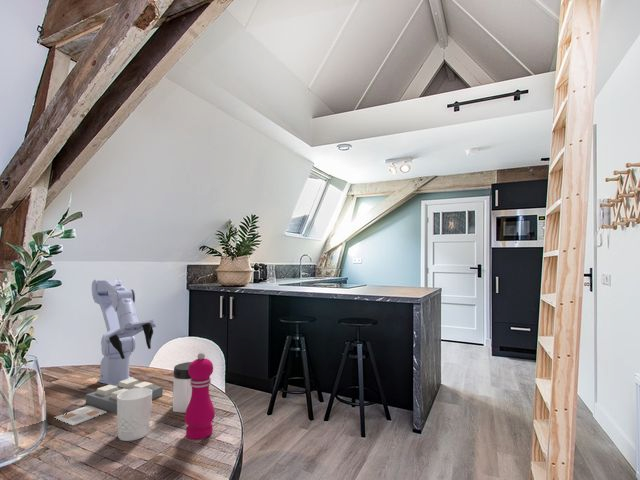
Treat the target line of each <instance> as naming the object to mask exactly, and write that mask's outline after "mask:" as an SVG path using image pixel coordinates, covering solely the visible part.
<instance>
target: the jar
mask: <svg viewBox="0 0 640 480" xmlns="http://www.w3.org/2000/svg"><path fill="white" fill-rule="evenodd" d="M192 362H193V361H189V362H188V361H186V362H182V363H177V364H176V365H175V366H174V367H173V386H172V412H174V413H182V414H183V413H184V414H185V412H186V409H187V407H188V404H189V402H190V400H191V396H192V386H190V383H191V382H190V380H191V379H192V378H191V377H190V376H189V373H188V369H189V365H190V364H191V363H192Z"/></svg>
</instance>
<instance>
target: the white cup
mask: <svg viewBox="0 0 640 480" xmlns="http://www.w3.org/2000/svg"><path fill="white" fill-rule="evenodd" d="M152 400H153V399H152V390H151V389H148V388H135V389H130V390H126V391H123V392H121V393H119V394H118V395H117V413H116V418H117V419H116V421H117V438H118V439H119V440H120V441H125V442H130V441H131V442H132V441H136V440H139V439H142V438H144V437H146V436H147V435H148V434H149V431H150V430H149V429H150V421H151V414H152Z"/></svg>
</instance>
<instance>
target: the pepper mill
mask: <svg viewBox="0 0 640 480" xmlns="http://www.w3.org/2000/svg"><path fill="white" fill-rule="evenodd" d="M205 357H206V354H205V353H204V352H199V353H198V354H197V359H195V360H193V361H191V362H192V363H191V364H190V365H189V369H188V373H189V376H190V377H191V378H192V379H191V380H190V382H191V383H190V386H192V396H191V400H190V402H189V404H188V407H187V409H186V412H185V413H184V423H185V424H186V425H187V426H186V429H185V431H186V432H185V436H186V437H187V438H188V439H190V440H203V439H207V438H208V437H209V436H211V435H212V434H213V430H214V429H213V427H214V426H213V423H212V422H213V421H214V419H215V417H216V413H215V407H214V404H213V401H212V398H211V396H210V385H211V383H212V381H211V380H212V377H211V375H213V372H214V365H213V363H212V360H210V359H208V358H205Z"/></svg>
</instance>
